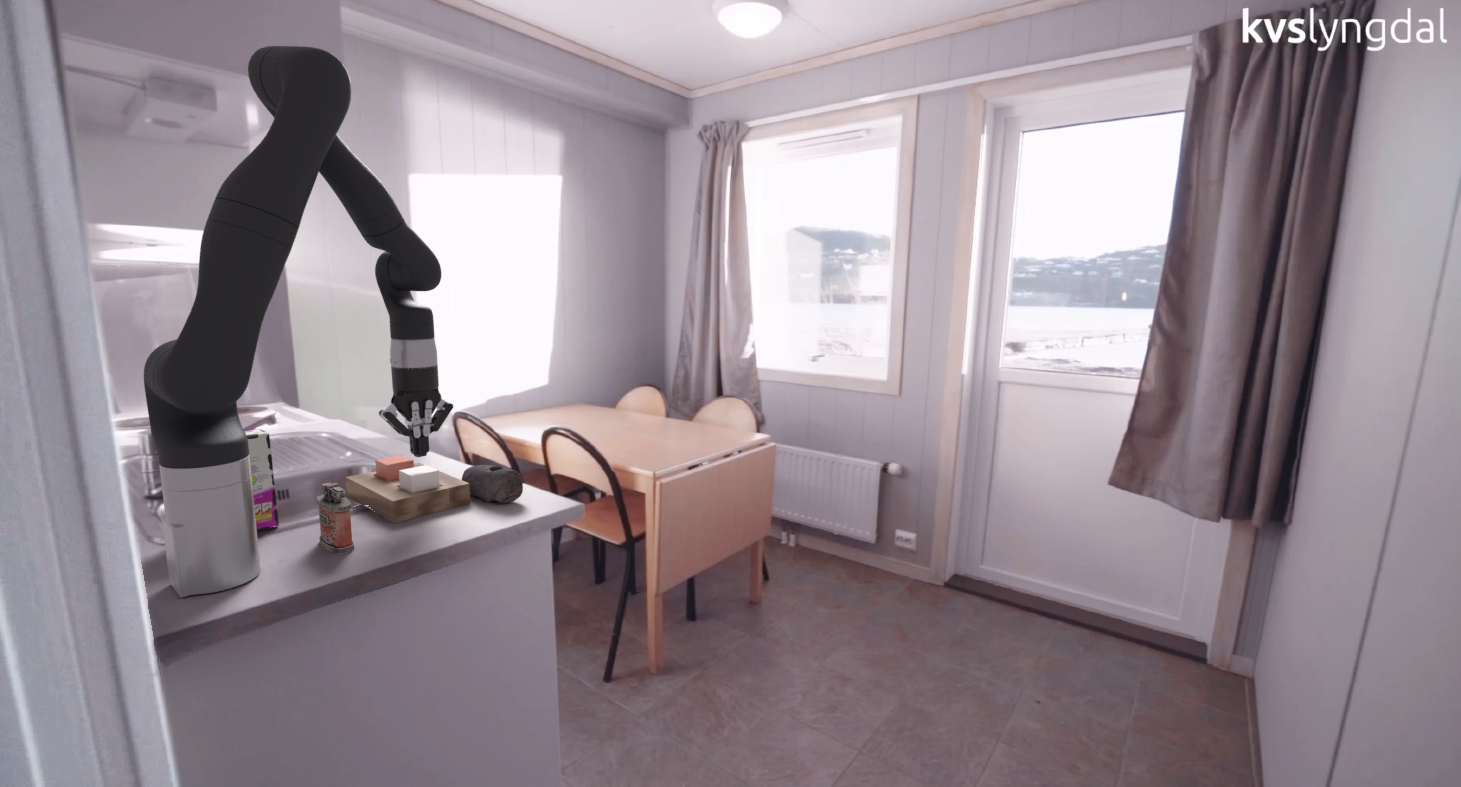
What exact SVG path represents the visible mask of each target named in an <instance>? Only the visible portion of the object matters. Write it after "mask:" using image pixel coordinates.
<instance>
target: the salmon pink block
mask: <svg viewBox="0 0 1461 787" xmlns="http://www.w3.org/2000/svg"><path fill="white" fill-rule="evenodd" d="M414 464H415V463H414V459H412V458H410V457H408V456H404V455H395V456H391V457H384V458H378V459H375V471H376V477H378V478H380V479H382V480H384V481H390V480H395V479H399V470H403V469H408V468H413V467H414Z"/></svg>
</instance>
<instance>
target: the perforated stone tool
mask: <svg viewBox="0 0 1461 787" xmlns="http://www.w3.org/2000/svg"><path fill="white" fill-rule="evenodd" d="M461 480H462V481H465V482H467V483H469V488H470V495H471V496H472V497H473V496H474V497H477V498H478V499H480V500H483V501H486V502H490V503H491V502H498V503H499V504H506V503H509V502H515V501H517V500H518V499H519V498H520V497H521V495H522V494H523V490H524V486H523V485H524V484H523V476H522V475H521V473H520V472H519V471H517V470H514V469H511V468H507V467H505V466H504V467H503V466H500V465H499V466H498V465H489V464H478V465H473V466H470V467H467V468H466V469H465V470H464V471H463V473H462V476H461Z"/></svg>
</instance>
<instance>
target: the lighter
mask: <svg viewBox="0 0 1461 787" xmlns="http://www.w3.org/2000/svg"><path fill="white" fill-rule="evenodd" d="M321 484H322V491H323V492H322V493H323V494H320V495H318V496H316V498H315V499H316V504H317V505H318V514H319V515H318V516H319V529H320V536H319V544H320V545H321V547H323V548H324V550H327V551H328V552H331V553H333V554H336V555H337V554H338V555H342V554H347V553H350V552H353V551H354V550H355V543H354V541H353V534H352V520H351V519H352V518H351V517H352V516H351V509H352V503H351V501H350V500H349V498H348V497H346V490H345V489H344V488H342V487H341V486H339V483H338V482H334V483H331V482H326V483H321Z"/></svg>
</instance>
